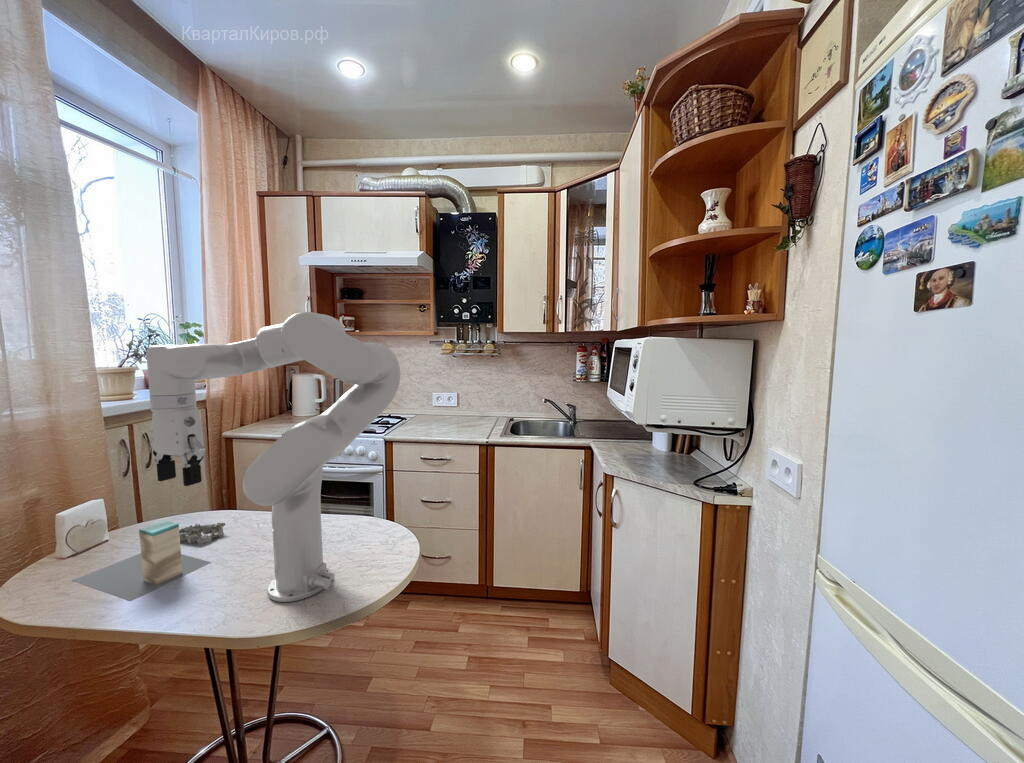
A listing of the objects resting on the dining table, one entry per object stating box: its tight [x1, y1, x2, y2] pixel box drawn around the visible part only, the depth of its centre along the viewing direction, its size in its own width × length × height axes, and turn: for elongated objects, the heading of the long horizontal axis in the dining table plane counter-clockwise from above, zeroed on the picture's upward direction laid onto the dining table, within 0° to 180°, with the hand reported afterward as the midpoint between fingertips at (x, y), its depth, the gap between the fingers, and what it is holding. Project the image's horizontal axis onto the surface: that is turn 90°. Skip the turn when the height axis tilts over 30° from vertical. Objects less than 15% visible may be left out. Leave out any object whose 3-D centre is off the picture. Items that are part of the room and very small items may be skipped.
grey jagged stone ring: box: [179, 522, 226, 545], centre depth 111 cm, size 11×8×4 cm
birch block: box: [138, 520, 182, 585], centre depth 91 cm, size 5×5×12 cm
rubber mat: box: [71, 552, 212, 602], centre depth 94 cm, size 22×16×1 cm
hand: (179, 481), depth 86 cm, fingers open, 8 cm apart
